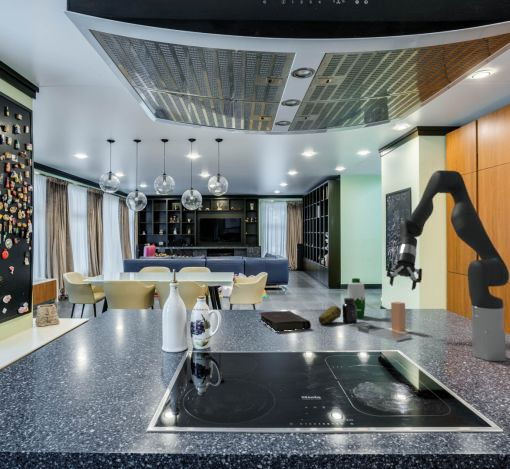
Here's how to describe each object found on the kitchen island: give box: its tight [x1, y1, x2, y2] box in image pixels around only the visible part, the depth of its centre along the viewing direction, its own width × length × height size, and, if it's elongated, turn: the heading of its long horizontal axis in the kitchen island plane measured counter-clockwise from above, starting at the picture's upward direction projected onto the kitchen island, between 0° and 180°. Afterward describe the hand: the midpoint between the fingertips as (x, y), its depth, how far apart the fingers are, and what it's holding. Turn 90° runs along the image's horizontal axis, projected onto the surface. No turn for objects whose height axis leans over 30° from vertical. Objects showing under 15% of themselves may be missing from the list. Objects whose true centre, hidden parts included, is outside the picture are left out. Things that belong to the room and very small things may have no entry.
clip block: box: [390, 301, 407, 332], centre depth 156 cm, size 4×4×12 cm
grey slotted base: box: [347, 322, 412, 342], centre depth 152 cm, size 26×9×2 cm, turn 30°
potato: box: [318, 305, 342, 325], centre depth 175 cm, size 8×13×8 cm, turn 105°
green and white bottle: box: [347, 277, 366, 319], centre depth 188 cm, size 9×9×20 cm
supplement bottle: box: [341, 297, 358, 325], centre depth 175 cm, size 7×7×12 cm
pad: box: [387, 327, 414, 334], centre depth 156 cm, size 9×9×1 cm
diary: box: [258, 310, 312, 331], centre depth 173 cm, size 19×25×5 cm
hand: (402, 287), depth 154 cm, fingers open, 8 cm apart
